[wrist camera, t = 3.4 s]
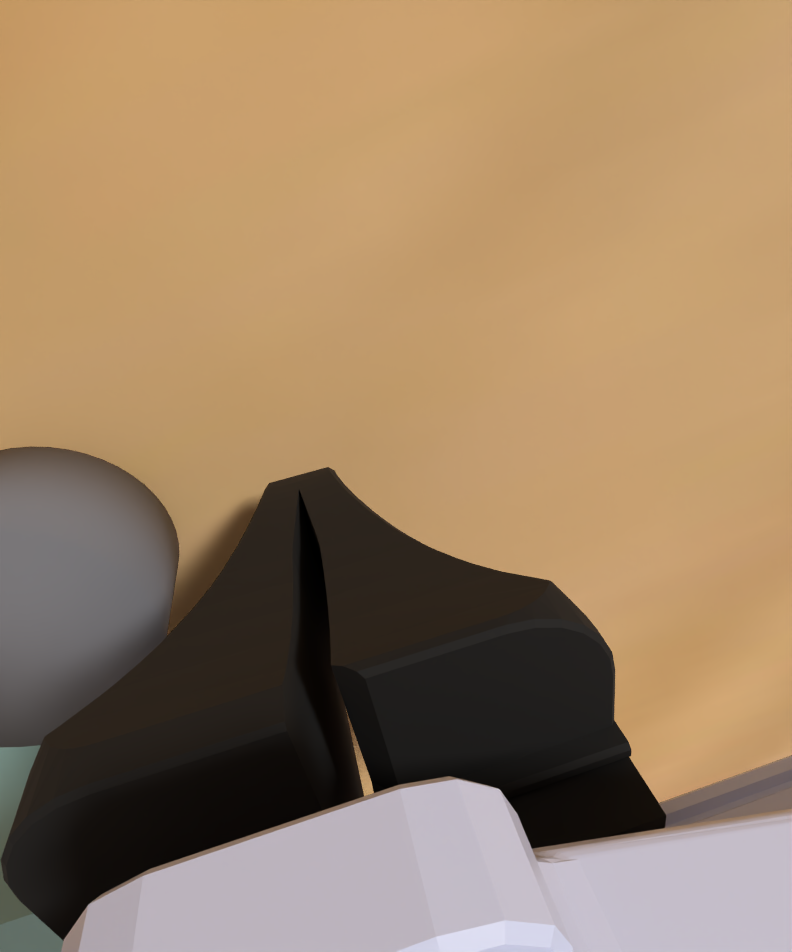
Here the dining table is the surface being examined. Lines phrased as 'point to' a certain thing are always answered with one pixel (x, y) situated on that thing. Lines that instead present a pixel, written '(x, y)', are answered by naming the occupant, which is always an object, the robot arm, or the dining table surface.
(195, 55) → the dining table surface
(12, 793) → the block
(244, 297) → the dining table surface
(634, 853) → the robot arm
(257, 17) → the dining table surface
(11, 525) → the puck
